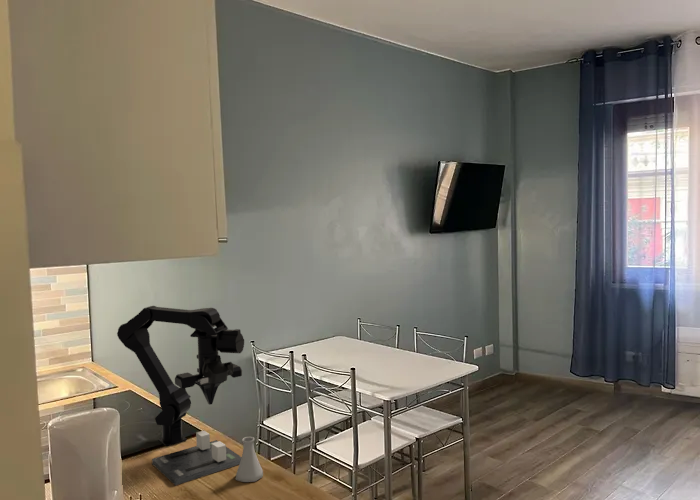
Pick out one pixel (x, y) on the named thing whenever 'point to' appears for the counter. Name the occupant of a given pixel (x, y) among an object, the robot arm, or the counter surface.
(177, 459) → the dark grey flat plate
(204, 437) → the block
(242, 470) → the flask
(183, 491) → the counter surface
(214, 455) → the block
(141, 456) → the counter surface
